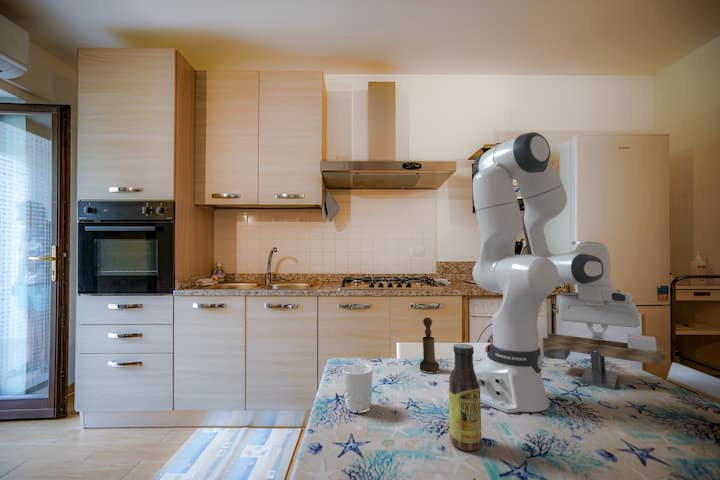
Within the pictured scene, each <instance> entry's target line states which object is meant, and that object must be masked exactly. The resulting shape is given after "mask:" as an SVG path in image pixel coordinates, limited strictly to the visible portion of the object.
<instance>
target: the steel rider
mask: <svg viewBox="0 0 720 480" xmlns="http://www.w3.org/2000/svg"><path fill="white" fill-rule="evenodd" d="M626 339H627V343H628V349H634V350H641V351H649V352H656V353H657V349H656V344H657V340H656V336H649V335H640V334H632V333H630V334H629V333H628V334H627V338H626Z"/></svg>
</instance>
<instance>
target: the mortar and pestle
mask: <svg viewBox="0 0 720 480" xmlns="http://www.w3.org/2000/svg"><path fill="white" fill-rule="evenodd" d="M422 321H423V325H424V327H425V330H424V334H425V336H422V350H423V351H422V352H423V353H422V354H423V355H422V356H423V360H421V361H420V363H419V370H420V369H421V370H423V371H426V372H437V371H439V372H440V363H439V362H437V360H436V357H435V355H436V354H435V337H434V336H432V330H431V326H432V325H433V320H432V318H431V317H425V318H423V320H422Z"/></svg>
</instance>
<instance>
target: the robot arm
mask: <svg viewBox="0 0 720 480" xmlns="http://www.w3.org/2000/svg"><path fill="white" fill-rule="evenodd" d="M550 158H551V146H550V144H549V142H548V140H547V139H546V138H545V137H544V136H543V135H542V134H540V133H538V132H534V131H531V132H526V133H522V134H519V135H518V136H517V137H514V138H511V139H509V140H506V141H504V142H500V143H497V144H496V145H495V146H492V147H491V148H490V149H488V150H486V151H484V152H482V153H481V154H479V155H478V156H477V157H476V158H475V160H474V161H473V165H472V166H473V167H472V172H473V178H472V197H473V204H474V205H473V206H474V209H475V215H476V219H477V220H476V221H477V225H478V230H479V237H480V238H479V239H480V248H479V255H478V259H477V260H476V263H474V265H473V268H472V278H473V281H474V283H475V285H477V286H478V287H479V288H481V289H483V290H486V291H488V292H489V293H490V292H491V293H497V294H503V295H502V301H501V306H499V307H500V308H499V309H498V310H496V311H495V312H494V313H493V315H492V317H491V328H492V329H491V330H492V341H490V343H489V344H488V345H486V347H485V348H484V353H486V354H487V355H486V356H485V357H484V358H482V359H481V360H479V361H478V362H476V363H475V364H473V368H474V372H475V375H476V378H477V381H478V384H479V386H480V403H482V404H483V405H487V406H489V407H491V408H495V409H497V410H500V411H501V412H505V413H507V414H514V413H519V412H520V413H522V412H523V413H538V412H542V411H543V412H544V411H545V410H547V409H548V408H550V406H551V405H550V404H551V403H550V401H549V399H548V396H547V392H546V389H545V386H544V385H545V384H544V381H543V376H542V371H543V370H542V369H543V358H542V357H543V356H542V353H541V348H540V347H539V332H538V330H539V327H538V323H539V321H538V320H539V314H540V310H541V309H542V305H543V303H544V301H545V300H546V299H547V297H548V296H550V295H551V294H553V292H555V290H556V288H557V287H558V285H576V286H577V292H561V293H559V294H558V295H557V296H556V301H557V302H556V303H557V305H558V312H557V313H558V315H557V317H558V319H559V320H560V321H563V322H572V323H582V324H586V327H587V329H588V330H589V332H590V333H591V339H599V340H605V333H606V332H607V330H608V328H609V326H612V327H622V328H623V327H624V328H635V329H637V328H638V327H640V326H641V320H640V319H641V318H640V315H639V311H638V310H639V309H638V307H637V306H636V304H635V303H634V302H632V300H633V295H632V294H631V293H630V292H626V291H622V290H620V289H619V290H618V289H615V288H613V282H612V280H611V272H612V265H611V259H610V253H609V249H608V247H607V246H606V245H605V244H603V243H601V242H596V241H595V242H592V241H584V242H580V243H577V245H576V248H575V249H573V250H572V251H570V252H567V253H552V252H551V251H550V250H549V249H548V244H547V239H546V235H545V226H546V225H547V223H549V222H550V221H552V220H554V218H557V216H559V215H560V214H561V213H562V212H563V211H564V210H565V208H566V206H567V203H568V196H567V191H566V189H565V186H564V184H563V181H562V179H561V177H560V175H559V173H558V170H557V169H556V167H555V166H554V164H553V163H552V162H551V160H550ZM514 180H515V181H516V183H517V187H518V189H519V193H520V195H521V199H522V201H523V204H524V205H523V206H524V213H523V214H521V210H520V203H519V201H518V196H517V193H516V190H515V187H514V184H513V181H514ZM523 233H524V234H523ZM522 234H523V235H524V238H525V242H526V245H527V250H528V253H527V254H525V253H524V254H516V252H515V250H516V249H515V248H516V242H517V240H518V238H519V237H520V236H521V235H522ZM594 325H601V328H602V329H603V330H602V331H601V332H600V331H598V332H597V331H595V330H594V328H593V326H594Z"/></svg>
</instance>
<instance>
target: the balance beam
mask: <svg viewBox="0 0 720 480" xmlns="http://www.w3.org/2000/svg"><path fill="white" fill-rule="evenodd" d="M547 336H548V337H545V336H544V337H542V348H543V350H542V352H543V357H545V358H551V359H556V360H562V361H566V360H567V358H568V357H569V356H570V355H571V353H578V354H583V355H590V356H591V354H590V352H591V351H594V352H599V354H600V356H603V357H605V358H610V359H618V360H625V361H631V362H636V363H644V364H650V365H657V366H663V367H666V363H667V362H666V354H665V353H666V352H665V347H664V344H660V343H656V349H657V353H656V352H649V351H641V350H634V349H628V342H621V341H616V340H606V339H596V338H592V337H591V338H589V337H583V336H581V337H580V336H574V335H573V336H572V335H567V334H560V333H559V334H558V333H551V332H550V333H549V332H548V333H547Z"/></svg>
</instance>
